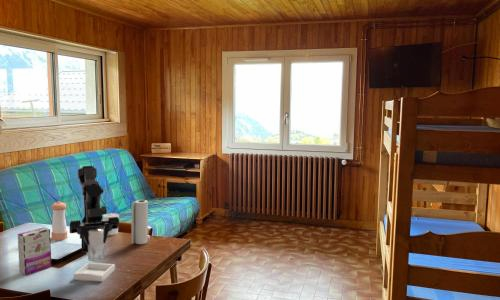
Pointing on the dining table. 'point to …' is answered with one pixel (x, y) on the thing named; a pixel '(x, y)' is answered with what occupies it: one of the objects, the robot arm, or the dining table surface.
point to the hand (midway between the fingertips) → (96, 243)
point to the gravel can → (96, 244)
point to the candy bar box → (34, 250)
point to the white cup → (106, 217)
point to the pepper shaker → (58, 221)
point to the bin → (94, 272)
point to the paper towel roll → (139, 222)
